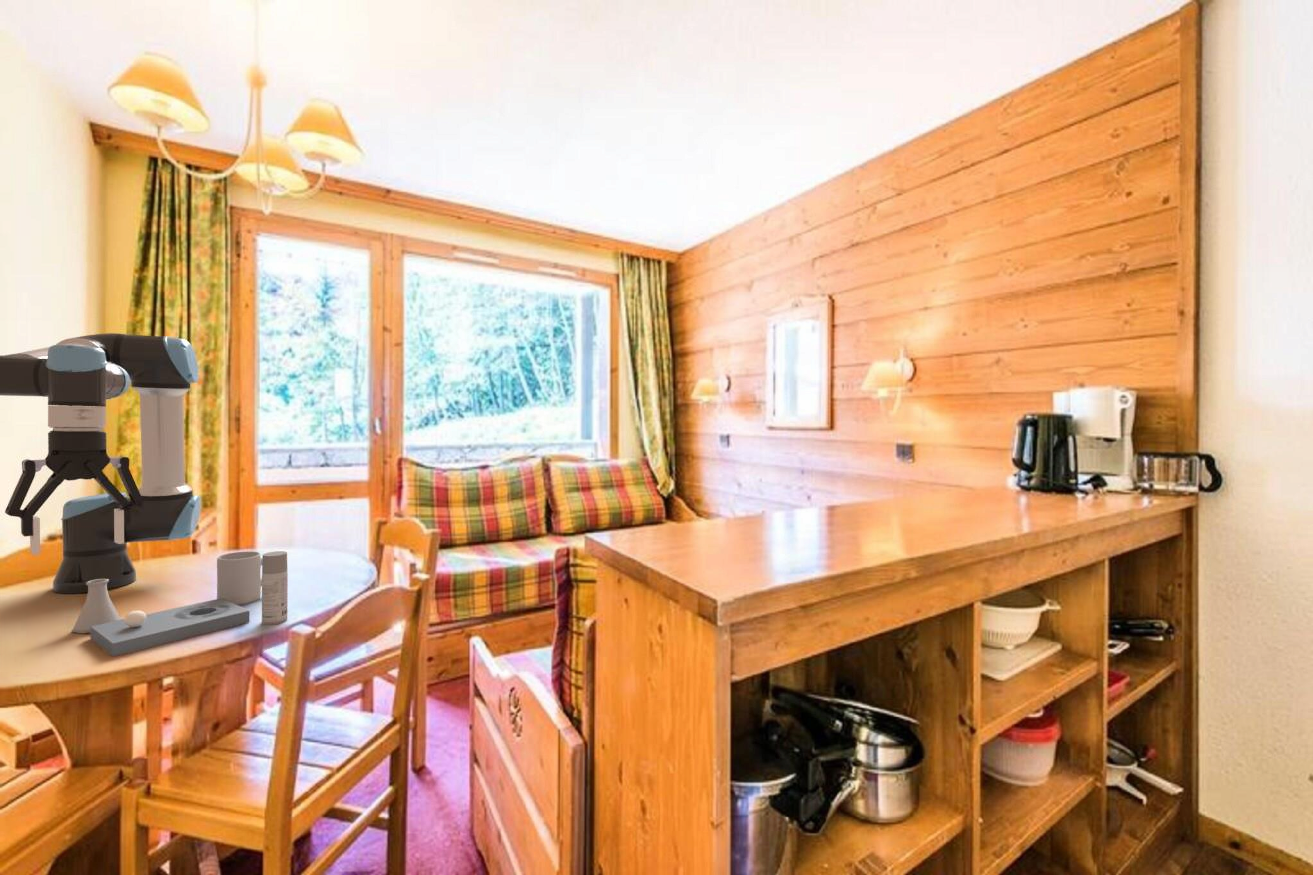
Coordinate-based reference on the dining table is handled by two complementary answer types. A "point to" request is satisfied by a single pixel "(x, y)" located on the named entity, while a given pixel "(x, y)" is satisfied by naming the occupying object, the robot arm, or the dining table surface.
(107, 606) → the flask
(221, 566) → the mug
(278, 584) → the container
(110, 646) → the plate
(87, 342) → the robot arm
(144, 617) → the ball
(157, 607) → the dining table surface
